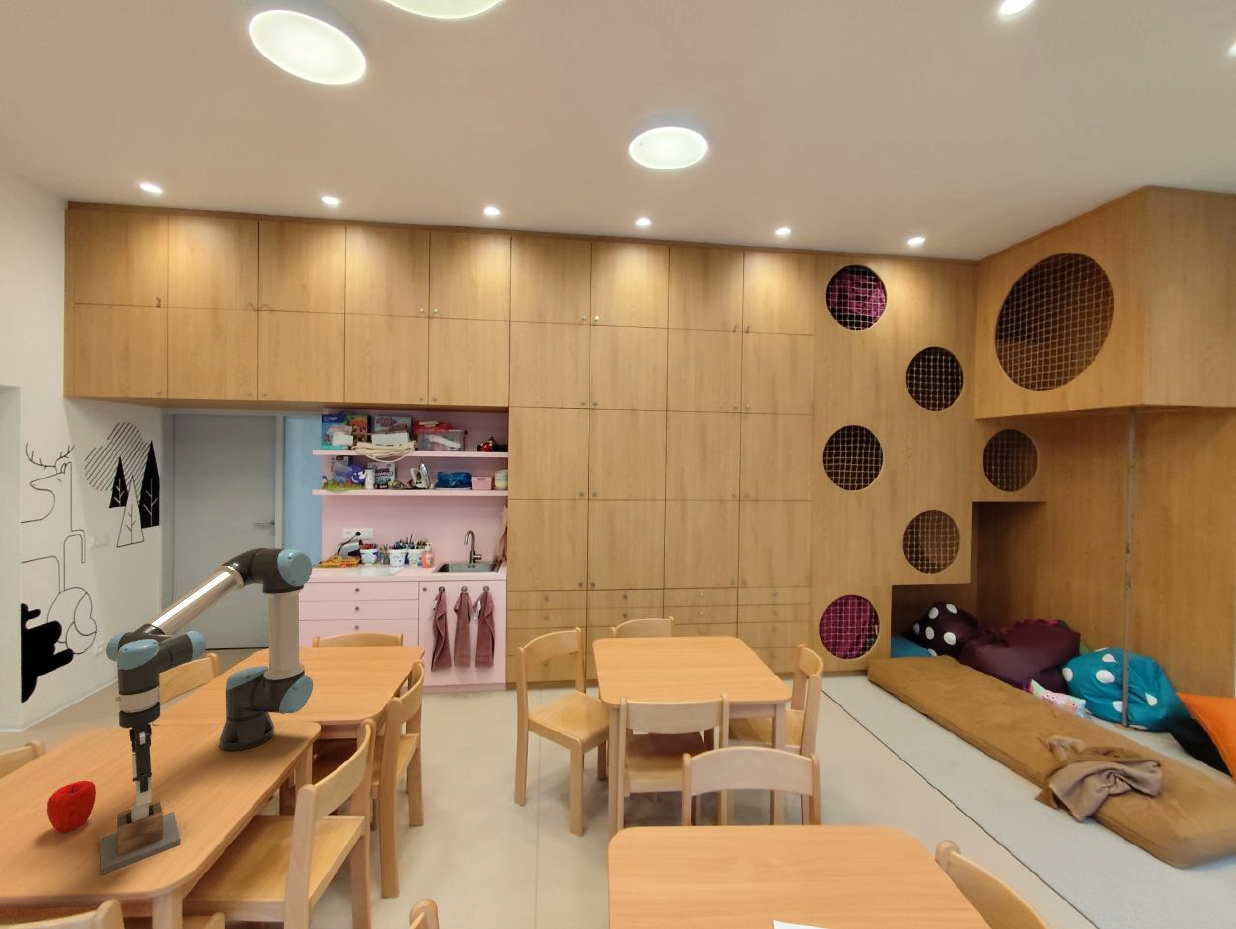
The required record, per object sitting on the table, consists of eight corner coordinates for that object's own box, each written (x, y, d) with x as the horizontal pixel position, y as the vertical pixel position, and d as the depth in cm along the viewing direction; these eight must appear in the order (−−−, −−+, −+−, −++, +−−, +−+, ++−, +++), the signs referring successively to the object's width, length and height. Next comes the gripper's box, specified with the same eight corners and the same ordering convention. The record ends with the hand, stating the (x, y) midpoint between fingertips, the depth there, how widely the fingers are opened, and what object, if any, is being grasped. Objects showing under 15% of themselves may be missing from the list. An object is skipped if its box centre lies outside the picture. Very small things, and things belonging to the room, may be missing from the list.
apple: (64, 842, 131) (64, 799, 131) (36, 838, 133) (36, 795, 132) (105, 818, 140) (105, 777, 140) (78, 814, 141) (78, 774, 141)
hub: (159, 822, 137) (159, 799, 137) (162, 838, 131) (162, 814, 131) (116, 838, 131) (116, 814, 131) (118, 855, 126) (118, 830, 125)
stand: (173, 816, 141) (173, 781, 141) (180, 843, 131) (180, 806, 131) (100, 842, 131) (100, 805, 131) (101, 874, 121) (101, 834, 121)
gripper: (116, 693, 137) (118, 774, 138) (121, 731, 119) (123, 823, 120) (155, 684, 142) (157, 762, 143) (165, 719, 124) (167, 807, 125)
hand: (142, 790), depth 131 cm, fingers open, 13 cm apart
